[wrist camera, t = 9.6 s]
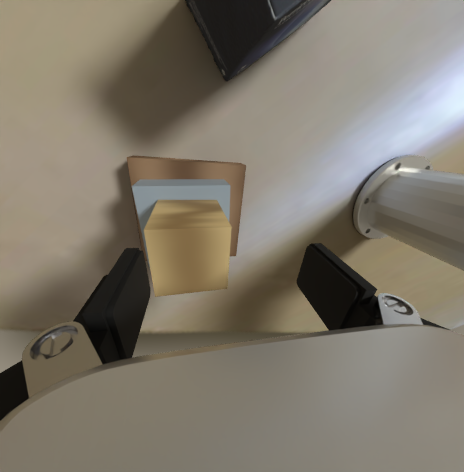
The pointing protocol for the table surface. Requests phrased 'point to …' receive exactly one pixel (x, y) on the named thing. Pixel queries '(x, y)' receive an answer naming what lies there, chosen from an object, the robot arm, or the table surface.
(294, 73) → the table surface
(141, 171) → the tower base
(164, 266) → the block
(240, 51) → the small box
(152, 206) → the tower top
